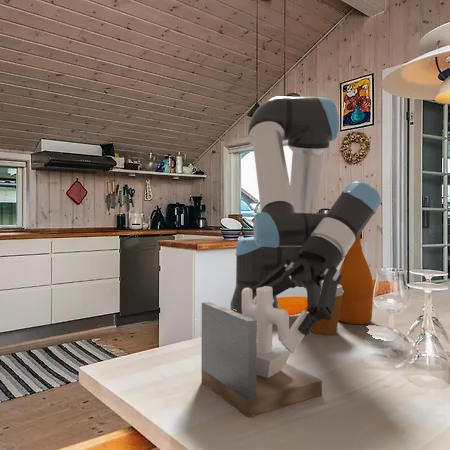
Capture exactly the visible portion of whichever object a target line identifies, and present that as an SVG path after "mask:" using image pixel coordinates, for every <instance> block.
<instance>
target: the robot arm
mask: <svg viewBox="0 0 450 450" xmlns="http://www.w3.org/2000/svg"><path fill="white" fill-rule="evenodd" d="M339 126H340V125H339V114H338V109H337V105H336V104H335V102H334V101H333V100H332V99H331V98H328V97H321V96H275V97H272V98H269V99H268V100H266V101H265V102H263V103H262V104H260V105H259V107H257V109H256V110H255V111H254V112H253V114H252V116H251V117H250V120H249V123H248V127H247V128H248V129H247V130H248V131H247V135H248V140H249V144H250V145H251V146H252V147H253V152H254V153H253V154H254V161H255V171H256V180H257V189H258V197H259V205H260V212H257V213H255V215H254V217H253V223H252V224H253V227H252V229H253V235H252V236H247V237H243V238H241V239H239V240H237V243H236V250H235V251H236V252H235V256H236V259H235V260H236V261H235V263H236V265H235V266H236V267H235V269H236V270H235V273H236V274H235V279H236V280H235V288H234V292H233V295H232V298H231V301H230V302H229V303H230V304H229V305H230V309H229V310H232V311H234V312H237V313H239V314H242V290H243V289H244V288H251V289H252V298H253V304H255V305H257V293H256V289H257V288H260V287H263V286H269V287H272V289H273V299H274V303H272V304H273V308H277V309H280V304H279V301H278V299H277V298H278V297H277V296H278V295H280V294H282V293H283V292H285V291H287V290H289V289H295V288H296V287H298V288H304V289H305V290H306V289H307V291H306V295H307V296H306V298H307V299H306V300H307V302H306V303H307V306H306V307H304V308H305V310H302V311H301V312H300V314H298V317H297V318H296V320H295V321H294V322H293V324H292V325H291V327H289V331H288V332H287V334H286V335H285V337H284V338H283V339H282V341H280V343H281V344H282V346H284V348H286V349H288V350H289V352H291V354H294V352H295V351H296V349H297V348H298V346H299V345H300V343H301V342H302V340H303V339H304V338H305V336H308V335H309V333H310V332H311V331H312V328H313V326H314V325H315V323H316V322H317V321H319V320H321V319H325V320H327V321H328V320H330V319H331V317H332V313H333V307H334V301H335V296H336V290H337V285H338V283H339V281H340V279H341V278H342V275H341V274H340V272H339V270H338V269H337V268H338V266H339V265H340V264H341V262H343V260H342V258H343V257H344V258H345V256H346V254H347V252H348V250H349V249H350V247H351V246H352V245H353V243H354V242H355V240H356V239H357V237H358V236H359V234H360V235H361V233H362V232H363V230H364V229H365V227H366V226H367V225H368V223H369V222H370V220H371V219H372V217H373V216H374V215H375V214H376V213H377V210H378V208H379V207H380V205H381V203H382V200H381V195H380V193H379V192H378V190H377V189H376V188H375V187H373V186H371V185H370V184H368V183H366V182H364V181H353V182H350V183H349V184H348V185H347V186H346V187H345V189H344V190H342V192H341V193H340V195H339V196H338V198H337V199H336V201H334V202H333V204H332V206H331V207H330V209H329V210H328V212H324V213H323V212H318V208H319V207H318V206H319V205H318V204H319V194H320V185H321V175H322V165H323V155H324V152H326V151H327V150H328V149H329V148H330V142H333V141H335V140H336V139H337V137H338V133H339ZM285 140H286V141H287V147H288V148H289V149H290V151H292V157H291V167H290V168H291V169H290V170H291V171H290V178H289V173H288V167H287V166H288V165H287V163H286V162H287V161H286V155H285V150H284V144H283V141H285ZM321 283H323V286H322V290H321ZM320 292H321V295H320ZM233 309H236V310H237V311H235V310H233ZM242 315H243V314H242Z"/></svg>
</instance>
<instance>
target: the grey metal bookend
mask: <svg viewBox="0 0 450 450" xmlns="http://www.w3.org/2000/svg"><path fill="white" fill-rule="evenodd" d="M256 368H257V320H255V319H252V318H250V317H247V316H245V315H242V314H239V313H237V312H234V311H232V310H230V309H229V308H226V307H223V306H221V305H219V304H216V303H213V302H210V301H205V302H204V301H203V302H201V370H202V369H203V370H204V371H206V372H207V373H209V374H210V375H212V376H213V377H214V378H216V379H217V380H219V381H220V382H222V383H223V384H225V385H226V386H227V387H229V388H230V389H232V390H233V391H235V392H236V393H237V394H239V395H240V396H242V397H243V398H245V399H246V400H248V401H250V400H253V399H256Z"/></svg>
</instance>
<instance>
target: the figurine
mask: <svg viewBox="0 0 450 450" xmlns="http://www.w3.org/2000/svg"><path fill="white" fill-rule="evenodd" d="M256 293H257V305H255V304H253V298H252V289H251V288H244V289H243V290H242V314H243V315H245V316H247V317H250V318H252V319H255V320H257V368H256V375H260V376H263V377H266V378H269V377H270V376H272V375H274V374H276V373H278V372H280V371H281V370H282V368H283V367H284V365H285V363H287V361H288V359H289V357H290V355H291V354H292V353H291V352H289V350H288V349H287V348H286V347H282V346H278V345H274V344H273V325H276V327H277V340H278V341H279V342H281V341H282V339H283V338H284V337H285V335H286V334H287V332H288V331H289V329H290V316H289V313H288V311H287V310H285V309H282V308H279V309H277V308H273V304H272V303H274V299H273V289H272V287H269V286H263V287H260V288H257V289H256Z"/></svg>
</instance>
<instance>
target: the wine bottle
mask: <svg viewBox="0 0 450 450" xmlns="http://www.w3.org/2000/svg"><path fill="white" fill-rule="evenodd" d="M361 242H362V241H361V233H360V234H359V236H358V237H357V239H356V240H355V242H354V243H353V245H352V246H351V247H350V249H349V250H348V252H347V253H346V255H345V256H344V257H342V263H341V265H340V266H339V267H340V268H339V270H338V271H339V272H340V274H341V275H342V278H341V279H340V281H339V283H338V284H339V285H341V286H342V289H343V291H344V292H343V295H342V298H341V305H340V312H339V319H338V321H340V322H341V323H342V322H343V323H345V324H349V325H350V324H351V325H366V324H369V323H370V322H371V321H372V318H373V303H374V301H373V300H374V285H373V284H374V282H373V276H372V273H371V270H370V266H369V264H368V261H367V259H366V258H365V254H364V253H363V252H364V251H363V247H362V243H361Z"/></svg>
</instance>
